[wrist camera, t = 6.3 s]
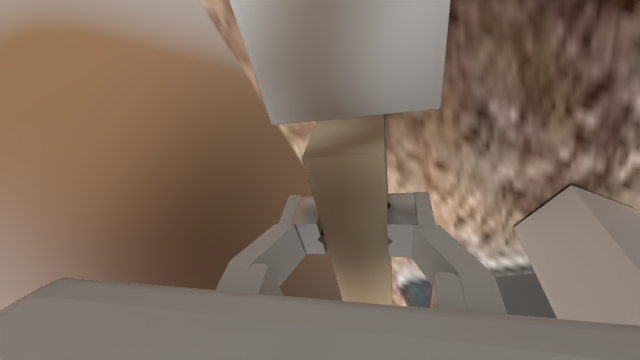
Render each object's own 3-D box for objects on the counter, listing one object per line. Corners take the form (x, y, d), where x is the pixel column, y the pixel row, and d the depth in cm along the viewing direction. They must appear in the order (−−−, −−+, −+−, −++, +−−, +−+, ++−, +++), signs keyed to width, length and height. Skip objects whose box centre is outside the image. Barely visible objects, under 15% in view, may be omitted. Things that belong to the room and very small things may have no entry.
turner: (468, -267, 5) (545, -460, 3) (423, 266, 15) (430, 319, 13) (191, -147, 6) (86, -203, 4) (322, 261, 17) (313, 309, 14)
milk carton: (567, 246, 30) (732, 505, 16) (512, 226, 30) (630, 474, 16) (634, 207, 26) (951, 525, 11) (569, 183, 25) (815, 482, 11)
